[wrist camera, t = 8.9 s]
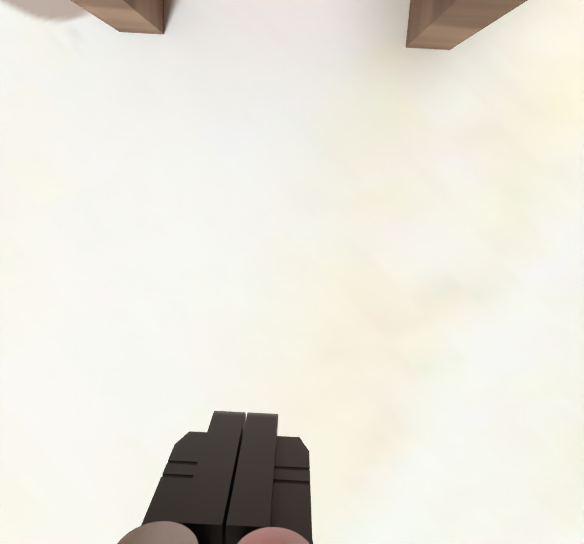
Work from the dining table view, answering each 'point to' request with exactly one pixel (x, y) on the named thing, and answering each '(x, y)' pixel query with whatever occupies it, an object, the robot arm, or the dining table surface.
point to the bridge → (421, 30)
